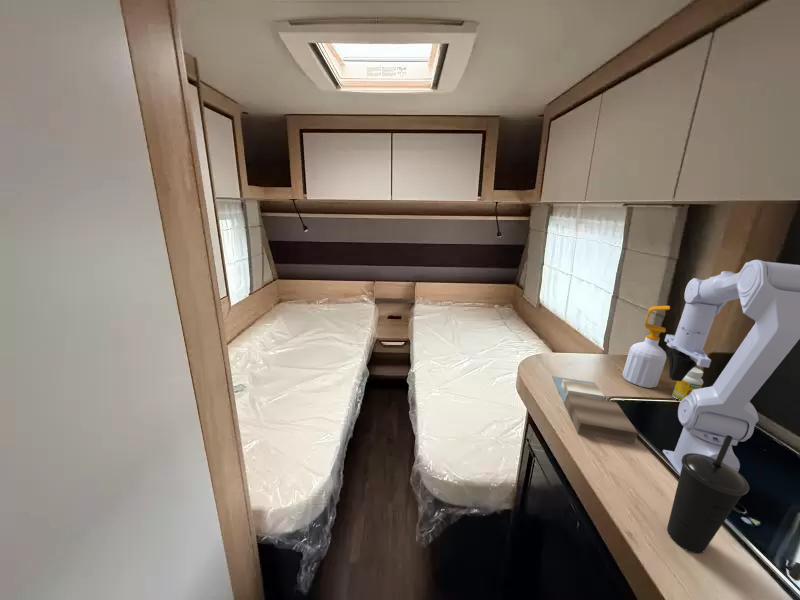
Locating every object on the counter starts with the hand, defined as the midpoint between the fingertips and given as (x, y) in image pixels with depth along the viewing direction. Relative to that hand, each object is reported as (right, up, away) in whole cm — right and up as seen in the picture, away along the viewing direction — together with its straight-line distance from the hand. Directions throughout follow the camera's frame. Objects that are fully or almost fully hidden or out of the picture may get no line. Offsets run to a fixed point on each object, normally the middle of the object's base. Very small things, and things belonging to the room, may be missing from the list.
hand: (675, 379), depth 85 cm
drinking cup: (-23, -19, -30) cm, 42 cm away
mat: (-18, -6, +11) cm, 22 cm away
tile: (-18, -4, +9) cm, 21 cm away
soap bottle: (+5, -5, +20) cm, 21 cm away
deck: (-21, -10, -2) cm, 23 cm away
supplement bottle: (+11, -8, +11) cm, 18 cm away
